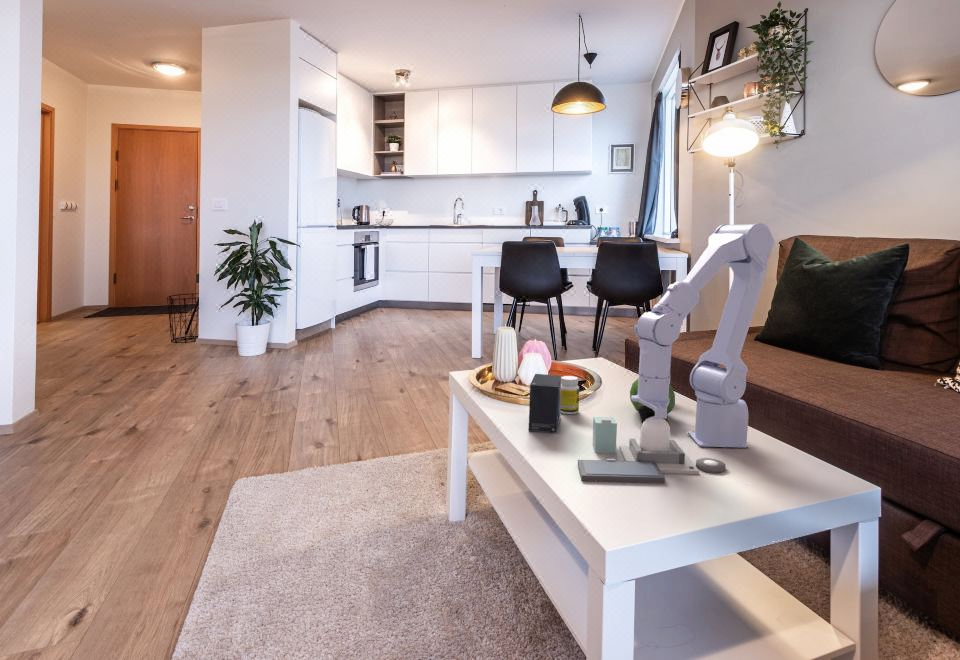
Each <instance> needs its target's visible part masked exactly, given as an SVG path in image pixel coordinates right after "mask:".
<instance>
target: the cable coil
mask: <svg viewBox="0 0 960 660" xmlns="http://www.w3.org/2000/svg"><path fill="white" fill-rule="evenodd" d="M695 466H696V467H697V469H698V470H699V471H703V472H705V473H712V474H720V473H724V472H725V471H726V467H727V466H726V463H725V462H724V461H722V460H719V459H716V458H712V457H700V458H697V459H696V460H695Z"/></svg>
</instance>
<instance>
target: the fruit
mask: <svg viewBox="0 0 960 660" xmlns="http://www.w3.org/2000/svg"><path fill="white" fill-rule="evenodd" d="M638 379H639V377H638V378H637V379H636V380H635V381H634V382H633V383H632V384H631V387H630V391H629V399H630V402H631V404H632V405H633V408H634V410H635V411H637V412H638V410H637V408H636V407H637V406H645V405H643V404H641V403H639V402H636V401H632V399H631V396H632V395H637V394H638ZM674 391H675V390H674V389H673V387H672V385H671V383H670V384H669V404H668V406H667V409H668V414H670V413H671V412H672V411H674V408H675V405H676V394H675V392H674Z"/></svg>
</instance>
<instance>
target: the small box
mask: <svg viewBox="0 0 960 660" xmlns="http://www.w3.org/2000/svg"><path fill="white" fill-rule="evenodd" d="M561 377H562V375H556V374H555V375H554V374H543V373H535V374H534V376H533V378H532V380H531V382H530V384H529V404H528V406H529V408H528V409H529V414H528V431H529V432H539V433H540V432H543V433H551V434H552V433H553V434H554V433H555V434H556V433H557V432H558V426H559V423H560V419H561V412H560V411H561Z"/></svg>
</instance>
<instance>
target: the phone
mask: <svg viewBox="0 0 960 660" xmlns="http://www.w3.org/2000/svg"><path fill="white" fill-rule="evenodd" d="M577 468H578V471H579V475H580V480H581V481H582V482H603V483H605V482H607V483H609V482H611V483H639V484H640V483H645V484H665V482H666V481H665V480H666V478H665V476H664V473H662V472H661V470H660V469H659V467H658V465H657V464H656V462H646V461H625V460H617V459H616V458H606V460H604V459H603V460H602V459H601V460H600V459H599V460H598V459H577Z"/></svg>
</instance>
